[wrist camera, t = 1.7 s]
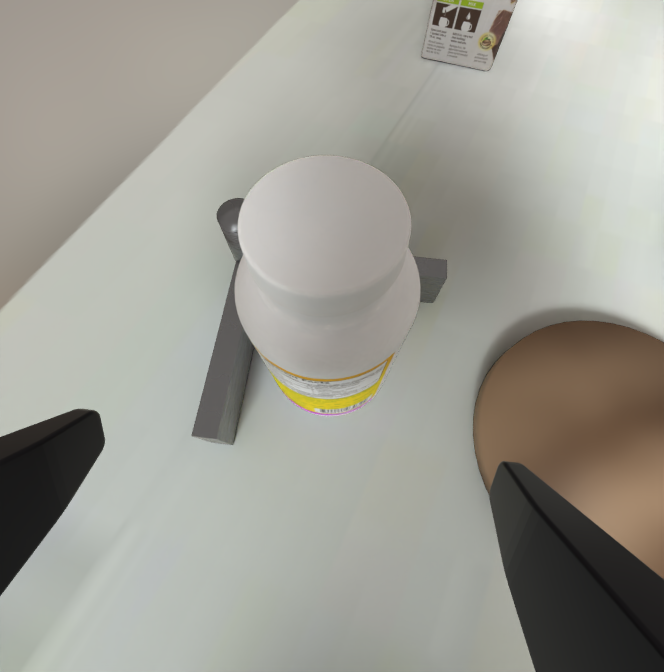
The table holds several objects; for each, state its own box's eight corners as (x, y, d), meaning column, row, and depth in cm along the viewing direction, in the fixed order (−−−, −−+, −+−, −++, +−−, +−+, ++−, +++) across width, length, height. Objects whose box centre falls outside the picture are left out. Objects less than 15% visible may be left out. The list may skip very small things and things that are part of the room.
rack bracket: (429, 469, 19) (469, 465, 14) (204, 441, 20) (153, 426, 14) (433, 280, 24) (464, 218, 18) (247, 262, 24) (221, 196, 19)
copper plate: (801, 491, 19) (830, 491, 18) (614, 674, 16) (635, 687, 15) (595, 290, 23) (609, 280, 22) (421, 406, 21) (427, 402, 19)
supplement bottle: (316, 293, 23) (299, 96, 11) (406, 348, 22) (494, 188, 10) (251, 377, 21) (145, 245, 9) (345, 443, 20) (364, 387, 8)
